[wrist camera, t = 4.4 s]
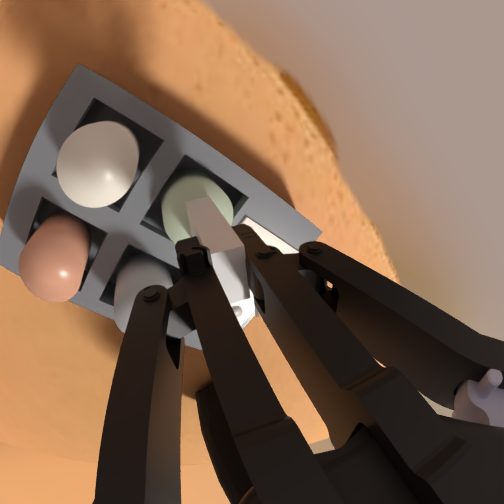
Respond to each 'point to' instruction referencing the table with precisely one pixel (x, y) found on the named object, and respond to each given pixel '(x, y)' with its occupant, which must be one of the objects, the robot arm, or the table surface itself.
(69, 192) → the button ivory
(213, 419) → the portable speaker
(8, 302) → the table surface
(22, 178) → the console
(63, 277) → the button terracotta
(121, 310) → the button grey
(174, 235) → the button sage
